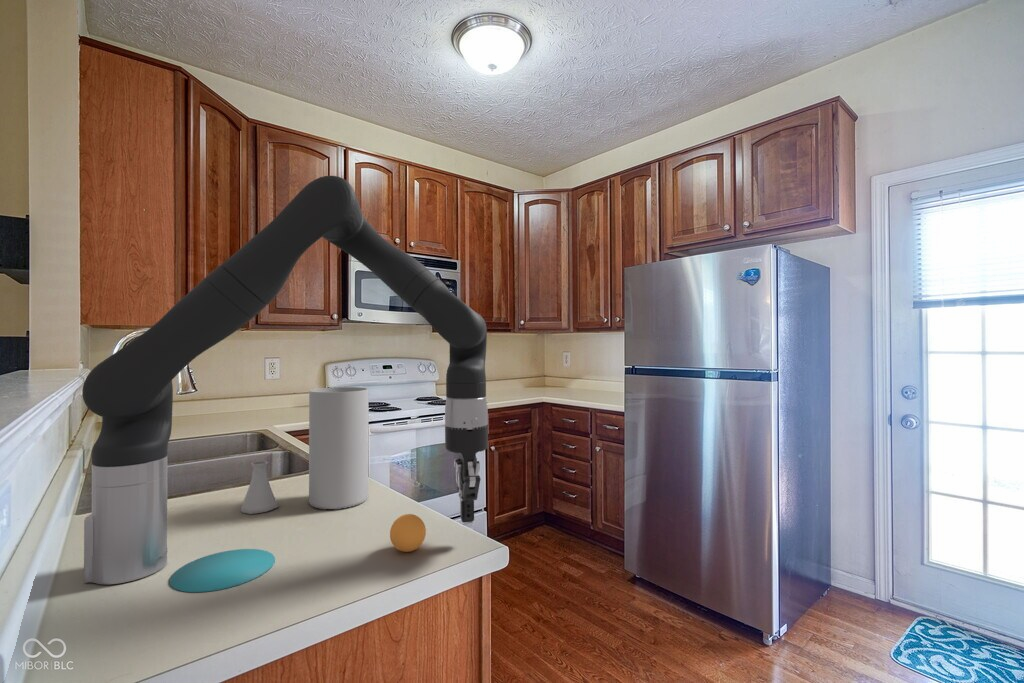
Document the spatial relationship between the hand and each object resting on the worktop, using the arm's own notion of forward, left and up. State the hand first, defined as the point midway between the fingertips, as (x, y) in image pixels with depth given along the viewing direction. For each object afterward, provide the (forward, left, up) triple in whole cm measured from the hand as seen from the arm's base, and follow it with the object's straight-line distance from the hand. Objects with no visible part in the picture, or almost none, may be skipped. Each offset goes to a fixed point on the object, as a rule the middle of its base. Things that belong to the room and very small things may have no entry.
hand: (467, 520), depth 85 cm
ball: (-10, 0, -1) cm, 10 cm away
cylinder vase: (-24, +30, -4) cm, 39 cm away
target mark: (-38, 0, -4) cm, 38 cm away
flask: (-40, +29, -4) cm, 50 cm away
